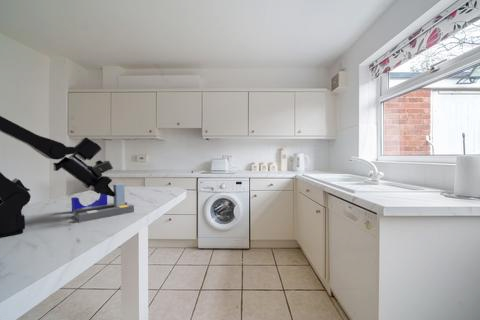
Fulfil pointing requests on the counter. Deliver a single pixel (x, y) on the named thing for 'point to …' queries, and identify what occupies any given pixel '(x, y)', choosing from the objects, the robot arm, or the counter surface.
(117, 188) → the tab
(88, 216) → the switch housing
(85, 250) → the counter surface
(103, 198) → the cable clip
